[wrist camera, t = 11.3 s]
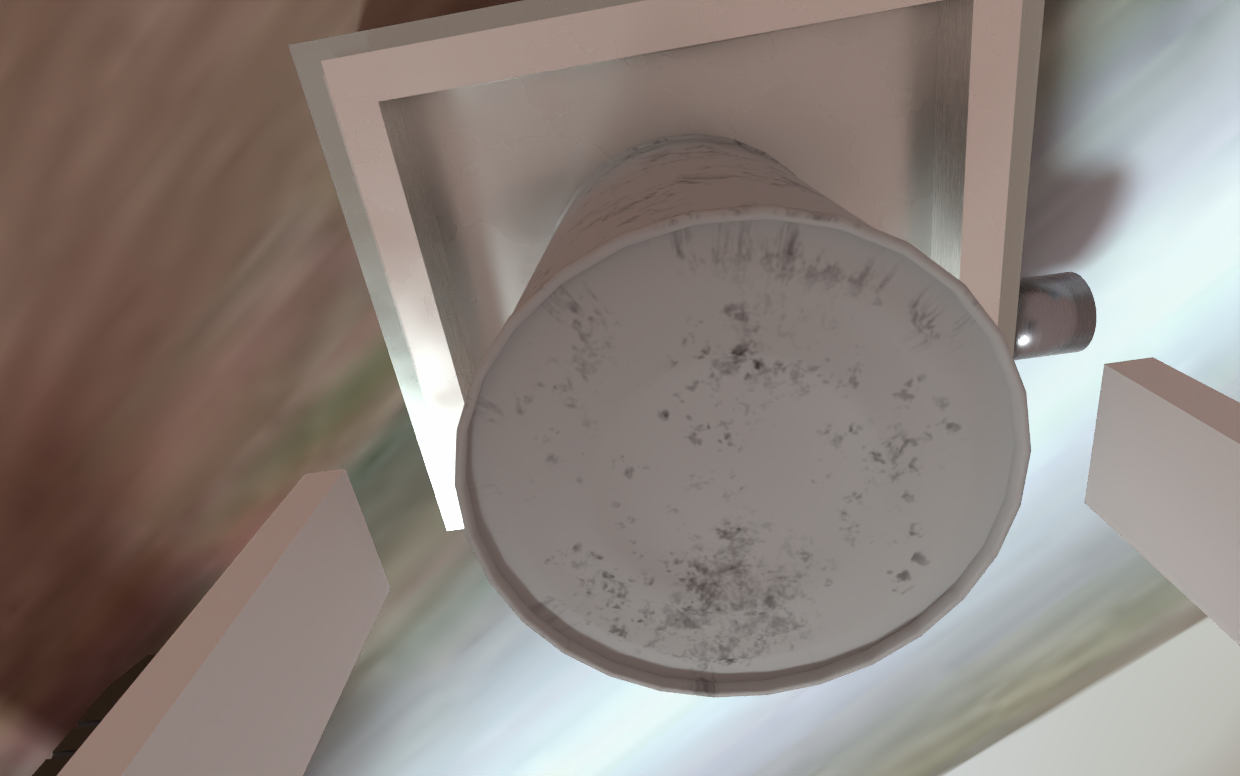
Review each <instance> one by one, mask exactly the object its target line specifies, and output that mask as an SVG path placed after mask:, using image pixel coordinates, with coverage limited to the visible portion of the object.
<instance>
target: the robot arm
mask: <svg viewBox="0 0 1240 776" xmlns="http://www.w3.org/2000/svg"><path fill="white" fill-rule="evenodd" d="M1085 504H1087V505H1088V506H1089V507H1090V508H1091V509H1092V510H1093V511H1094V512H1095V513H1096V514H1097V515H1099V516H1100V517H1101V518H1102V519H1103V520H1104V521H1105V522H1106V523H1107V524H1108V525H1109V526H1110V527H1112V528H1113V529H1114V530H1115V531H1116V532H1117V533H1118V534H1119V535H1120V536H1121V537H1122V538H1124V539H1125V540H1126V541H1127V542H1128V543H1129V544H1130V545H1131V546H1132V547H1133V548H1134V549H1135V550H1137V551H1138V552H1139V553H1140V554H1141V555H1142V556H1143V557H1144V558H1145V559H1146V560H1147V561H1149V562H1150V563H1151V564H1152V565H1153V566H1154V567H1155V568H1156V569H1157V570H1158V571H1159V572H1160V573H1162V574H1163V575H1164V576H1165V577H1166V578H1167V579H1168V580H1169V581H1170V582H1171V583H1172V584H1174V585H1175V586H1176V587H1177V588H1178V589H1179V590H1180V591H1181V592H1182V593H1183V594H1184V595H1185V596H1187V597H1188V598H1189V599H1190V600H1191V601H1192V602H1193V603H1194V604H1195V605H1196V606H1197V607H1199V608H1200V609H1201V610H1202V611H1203V612H1204V613H1205V614H1206V615H1207V616H1208V617H1209V618H1211V619H1212V620H1213V621H1214V622H1215V623H1216V624H1217V625H1218V626H1219V627H1220V628H1221V629H1222V630H1224V631H1225V632H1226V633H1227V634H1228V635H1229V636H1230V637H1231V638H1233V640H1234V641H1236V642H1237V643H1238V644H1239V645H1240V403H1239V402H1237V401H1235V400H1233V399H1231V398H1229V397H1227V396H1226V395H1224V394H1222V393H1220V392H1218V391H1216V390H1214V389H1212V388H1210V387H1208V386H1206V385H1205V384H1203V383H1201V382H1199V381H1197V380H1195V379H1193V378H1191V377H1189V376H1187V375H1185V374H1184V373H1182V372H1180V371H1178V370H1176V369H1174V368H1172V367H1170V366H1168V365H1166V364H1164V363H1163V362H1161V361H1159V360H1157V359H1155V358H1153V357H1152V358H1145V359H1138V360H1130V361H1123V362H1116V363H1109V364H1104V370H1103V377H1102V384H1101V391H1100V398H1099V405H1098V412H1097V419H1096V426H1095V433H1094V440H1093V447H1092V454H1091V461H1090V468H1089V475H1088V482H1087V489H1086V496H1085ZM390 589H391V588H390V585H389V583H388V580H387V578H386V575H385V572H384V570H383V567H382V564H381V562H380V559H379V556H378V554H377V551H376V549H375V546H374V543H373V541H372V538H371V535H370V533H369V530H368V527H367V525H366V522H365V520H364V517H363V514H362V512H361V509H360V506H359V504H358V501H357V498H356V496H355V493H354V491H353V488H352V485H351V483H350V480H349V477H348V475H347V472H346V469H340V470H332V471H325V472H318V473H311V474H305V475H304V476H303V477H302V478H301V479H300V481H299V482H298V483H297V484H296V485H295V487H294V488H293V489H292V490H291V492H290V493H289V494H288V495H287V496H286V498H285V499H284V500H283V501H282V502H281V504H280V505H279V506H278V507H277V509H276V510H275V511H274V512H273V513H272V515H271V516H270V517H269V518H268V519H267V521H266V522H265V523H264V524H263V526H262V527H261V528H260V529H259V530H258V532H257V533H256V534H255V535H254V536H253V538H252V539H251V540H250V541H249V543H248V544H247V545H246V546H245V547H244V549H243V550H242V551H241V552H240V553H239V555H238V556H237V557H236V558H235V560H234V561H233V562H232V563H231V564H230V566H229V567H228V568H227V569H226V570H225V572H224V573H223V574H222V575H221V577H220V578H219V579H218V580H217V581H216V583H215V584H214V585H213V586H212V587H211V589H210V590H209V591H208V592H207V594H206V595H205V596H204V597H203V598H202V600H201V601H200V602H199V603H198V604H197V606H196V607H195V608H194V609H193V611H192V612H191V613H190V614H189V615H188V617H187V618H186V619H185V620H184V621H183V623H182V624H181V625H180V626H179V628H178V629H177V630H176V631H175V632H174V634H173V635H172V636H171V637H170V638H169V640H168V641H167V642H166V643H165V645H164V646H163V647H162V648H161V649H160V651H159V652H158V653H157V654H156V655H148V656H146V657H145V658H144V659H143V660H141V661H140V662H139V663H138V664H136V665H135V666H134V667H133V668H131V669H130V670H129V671H128V672H126V673H125V674H124V675H123V676H121V677H120V678H119V679H118V680H116V681H115V682H114V683H113V684H111V685H110V686H109V687H108V688H107V689H106V690H105V691H104V693H103V694H102V695H101V696H100V697H99V698H98V700H97V701H96V702H95V703H94V704H93V705H92V707H91V708H90V709H89V710H88V711H87V712H86V714H85V715H84V716H83V717H82V718H81V719H80V721H79V722H78V723H79V726H78V728H77V729H72V730H71V731H70V732H69V733H68V735H67V736H66V737H65V738H64V739H63V740H62V742H61V743H60V744H59V745H58V746H57V747H56V749H55V750H54V751H53V757H52V759H47V760H45V761H44V763H43V764H42V765H41V766H40V767H39V768H38V770H37V771H36V772H35V773H34V774H33V775H32V776H303V775H304V772H305V770H306V768H307V766H308V764H309V762H310V760H311V757H312V755H313V753H314V751H315V749H316V747H317V745H318V742H319V740H320V738H321V736H322V734H323V732H324V730H325V728H326V725H327V723H328V721H329V719H330V717H331V715H332V713H333V710H334V708H335V706H336V704H337V702H338V700H339V698H340V695H341V693H342V691H343V689H344V687H345V685H346V683H347V681H348V678H349V676H350V674H351V672H352V670H353V668H354V666H355V663H356V661H357V659H358V657H359V655H360V653H361V651H362V648H363V646H364V644H365V642H366V640H367V638H368V636H369V633H370V631H371V629H372V627H373V625H374V623H375V621H376V619H377V616H378V614H379V612H380V610H381V608H382V606H383V604H384V601H385V599H386V597H387V595H388V593H389V591H390Z"/></svg>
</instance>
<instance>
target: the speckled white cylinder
mask: <svg viewBox="0 0 1240 776" xmlns="http://www.w3.org/2000/svg"><path fill="white" fill-rule="evenodd" d="M1030 453H1031V445H1030V433H1029V421H1028V409H1027V397H1026V390H1025V388H1024V385H1023V383H1022V380H1021V377H1020V375H1019V372H1018V370H1017V367H1016V364H1015V362H1014V359H1013V357H1012V354H1011V351H1010V349H1009V346H1008V344H1007V341H1006V339H1005V336H1004V334H1003V333H1002V332H1001V330H1000V329H999V328H998V326H997V325H996V324H995V323H994V321H993V320H992V319H991V317H990V316H989V315H988V313H987V312H986V311H985V310H984V308H983V307H982V306H981V304H980V303H979V302H978V300H977V299H976V298H975V297H974V295H973V294H972V293H971V291H970V290H969V289H968V287H967V286H966V285H965V284H964V283H962V282H961V281H960V280H958V279H957V278H956V277H954V276H953V275H952V274H950V273H949V272H948V271H946V270H945V269H944V268H942V267H941V266H940V265H938V264H937V263H936V262H934V261H933V260H932V259H930V258H929V257H928V256H926V255H925V254H924V253H922V252H921V251H920V250H918V249H917V248H916V247H914V246H913V245H912V244H910V243H908V242H907V241H904V240H902V239H899V238H897V237H894V236H892V235H889V234H887V233H884V232H882V231H880V230H877V229H875V228H873V227H871V226H870V225H868V224H867V223H865V222H864V221H862V220H861V219H859V218H858V217H856V216H855V215H853V214H852V213H850V212H849V211H847V210H846V209H844V208H843V207H841V206H840V205H838V204H837V203H835V202H834V201H832V200H831V199H829V198H828V197H826V196H825V195H823V194H822V193H820V192H819V191H817V190H816V189H814V188H813V187H811V186H810V185H808V184H806V183H805V182H803V181H802V180H800V179H799V178H797V177H796V175H795V174H794V173H793V172H792V171H790V170H789V169H787V168H786V167H785V166H783V165H782V164H781V163H779V162H778V161H777V160H775V159H774V158H773V157H771V156H770V155H769V154H767V153H766V152H764V151H761V150H759V149H756V148H754V147H751V146H749V145H747V144H744V143H742V142H739V141H737V140H734V139H729V138H723V137H716V136H709V135H702V134H692V135H681V136H671V137H662V138H659V139H656V140H653V141H650V142H647V143H644V144H641V145H639V146H636V147H633V148H630V149H628V150H626V151H625V152H623V153H622V154H620V155H618V156H617V157H615V158H614V159H612V160H610V161H609V162H607V163H606V164H604V165H602V166H601V167H599V168H598V169H597V170H596V171H595V172H594V173H593V174H592V175H591V176H590V177H589V178H588V179H587V180H586V181H585V182H584V183H583V184H582V185H581V186H580V187H579V188H578V189H577V190H576V191H575V193H574V195H573V196H572V198H571V199H570V201H569V203H568V204H567V206H566V208H565V209H564V211H563V212H562V214H561V216H560V217H559V219H558V221H557V223H556V226H555V229H554V232H553V235H552V238H551V240H550V242H549V244H548V246H547V248H546V250H545V252H544V254H543V256H542V258H541V260H540V261H539V263H538V265H537V267H536V269H535V271H534V273H533V275H532V277H531V279H530V281H529V283H528V284H527V286H526V288H525V290H524V292H523V294H522V296H521V298H520V300H519V302H518V304H517V305H516V307H515V309H514V311H513V313H512V314H511V315H510V316H509V318H508V319H507V321H506V322H505V324H504V326H503V327H502V329H501V330H500V332H499V334H498V335H497V337H496V338H495V340H494V342H493V343H492V345H491V346H490V348H489V350H488V351H487V353H486V355H485V356H484V358H483V359H482V361H481V363H480V364H479V366H478V367H477V369H476V371H475V372H474V375H473V378H472V381H471V384H470V387H469V391H468V394H467V397H466V400H465V404H464V407H463V410H462V413H461V417H460V420H459V423H458V426H457V429H456V453H455V480H454V485H455V490H456V494H457V498H458V503H459V507H460V512H461V516H462V520H463V525H464V529H465V534H466V538H467V540H468V542H469V544H470V546H471V547H472V549H473V551H474V553H475V555H476V557H477V559H478V561H479V563H480V565H481V567H482V569H483V571H484V573H485V575H486V577H487V579H488V581H489V583H490V584H491V585H492V586H493V588H494V589H495V590H496V591H497V592H498V593H499V595H500V596H501V597H502V598H503V599H504V601H505V602H506V603H507V604H508V605H509V606H510V608H511V609H512V610H513V611H514V612H515V613H516V615H517V616H518V617H519V618H520V619H521V621H522V622H523V623H525V624H526V625H527V626H529V627H530V628H531V629H533V630H534V631H535V632H536V633H538V634H539V635H540V636H542V637H543V638H544V639H546V640H547V641H548V642H550V643H551V644H552V645H553V646H555V647H556V648H557V649H559V650H560V651H561V652H563V653H564V654H566V655H568V656H570V657H572V658H574V659H576V660H578V661H580V662H582V663H584V664H586V665H588V666H590V667H592V668H594V669H596V670H598V671H600V672H602V673H604V674H606V675H608V676H611V677H614V678H618V679H621V680H624V681H628V682H631V683H635V684H638V685H642V686H645V687H648V688H652V689H655V690H659V691H665V692H673V693H682V694H690V695H699V696H707V697H730V696H754V695H769V694H774V693H779V692H784V691H789V690H794V689H799V688H804V687H809V686H814V685H818V684H822V683H825V682H828V681H830V680H833V679H836V678H838V677H841V676H843V675H846V674H849V673H851V672H854V671H857V670H859V669H862V668H865V667H867V666H870V665H872V664H874V663H876V662H878V661H879V660H881V659H883V658H885V657H886V656H888V655H890V654H891V653H893V652H895V651H896V650H898V649H900V648H902V647H903V646H905V645H907V644H908V643H910V642H912V641H913V640H915V639H917V638H919V637H920V636H922V635H923V634H924V633H925V632H926V631H927V630H929V629H930V628H931V627H932V626H933V625H934V624H936V623H937V622H938V621H939V620H940V619H941V618H942V617H944V616H945V615H946V614H947V613H948V612H949V611H951V610H952V609H953V608H954V607H955V606H956V605H957V604H959V603H960V602H961V601H962V600H963V599H964V598H965V597H966V595H967V594H968V593H969V591H970V590H971V589H972V587H973V586H974V585H975V584H976V582H977V581H978V580H979V578H980V577H981V576H982V575H983V573H984V572H985V571H986V569H987V568H988V567H989V565H990V564H991V563H992V562H993V560H994V559H995V558H996V556H997V555H998V553H999V550H1000V548H1001V546H1002V544H1003V542H1004V540H1005V538H1006V535H1007V533H1008V531H1009V529H1010V527H1011V525H1012V523H1013V520H1014V518H1015V516H1016V514H1017V512H1018V510H1019V508H1020V505H1021V500H1022V495H1023V490H1024V484H1025V479H1026V474H1027V469H1028V463H1029V458H1030Z"/></svg>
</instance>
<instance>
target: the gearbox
mask: <svg viewBox="0 0 1240 776" xmlns="http://www.w3.org/2000/svg"><path fill="white" fill-rule="evenodd" d="M1044 5H1045V0H522V1H517V2H512V3H507V4H501V5H496V6H491V7H486V8H480V9H475V10H470V11H464V12H459V13H454V14H449V15H443V16H438V17H433V18H428V19H422V20H417V21H412V22H407V23H401V24H396V25H391V26H386V27H380V28H375V29H370V30H365V31H359V32H354V33H349V34H343V35H338V36H333V37H328V38H322V39H317V40H312V41H307V42H301V43H296V44H291V45H288V46H289V49H290V52H291V55H292V58H293V61H294V64H295V67H296V70H297V73H298V76H299V79H300V82H301V85H302V89H303V92H304V95H305V98H306V101H307V104H308V107H309V110H310V113H311V116H312V119H313V122H314V125H315V128H316V131H317V134H318V137H319V141H320V144H321V147H322V150H323V153H324V156H325V159H326V162H327V165H328V168H329V171H330V174H331V177H332V180H333V183H334V186H335V189H336V192H337V196H338V199H339V202H340V205H341V208H342V211H343V214H344V217H345V220H346V223H347V226H348V229H349V232H350V235H351V238H352V241H353V244H354V248H355V251H356V254H357V257H358V260H359V263H360V266H361V269H362V272H363V275H364V278H365V281H366V284H367V287H368V290H369V293H370V296H371V299H372V303H373V306H374V309H375V312H376V315H377V318H378V321H379V324H380V327H381V330H382V333H383V336H384V339H385V342H386V345H387V348H388V351H389V355H390V358H391V361H392V364H393V367H394V370H395V373H396V376H397V379H398V382H399V385H400V388H401V391H402V394H403V397H404V400H405V403H406V406H407V410H408V413H409V416H410V419H411V422H412V425H413V428H414V431H415V434H416V437H417V440H418V443H419V446H420V449H421V452H422V455H423V458H424V462H425V465H426V468H427V471H428V474H429V477H430V480H431V483H432V486H433V489H434V492H435V495H436V498H437V501H438V504H439V507H440V510H441V513H442V517H443V520H444V523H445V526H446V529H447V530H455V529H463V528H464V525H463V520H462V516H461V512H460V507H459V503H458V498H457V494H456V490H455V485H454V480H455V453H456V429H457V426H458V423H459V420H460V417H461V413H462V410H463V407H464V404H465V400H466V397H467V394H468V391H469V387H470V384H471V381H472V378H473V375H474V372H475V371H476V369H477V367H478V366H479V364H480V363H481V361H482V359H483V358H484V356H485V355H486V353H487V351H488V350H489V348H490V346H491V345H492V343H493V342H494V340H495V338H496V337H497V335H498V334H499V332H500V330H501V329H502V327H503V326H504V324H505V322H506V321H507V319H508V318H509V316H510V315H511V314H512V313H513V311H514V309H515V307H516V305H517V304H518V302H519V300H520V298H521V296H522V294H523V292H524V290H525V288H526V286H527V284H528V283H529V281H530V279H531V277H532V275H533V273H534V271H535V269H536V267H537V265H538V263H539V261H540V260H541V258H542V256H543V254H544V252H545V250H546V248H547V246H548V244H549V242H550V240H551V238H552V235H553V232H554V229H555V226H556V223H557V221H558V219H559V217H560V216H561V214H562V212H563V211H564V209H565V208H566V206H567V204H568V203H569V201H570V199H571V198H572V196H573V195H574V193H575V191H576V190H577V189H578V188H579V187H580V186H581V185H582V184H583V183H584V182H585V181H586V180H587V179H588V178H589V177H590V176H591V175H592V174H593V173H594V172H595V171H596V170H597V169H598V168H599V167H601V166H602V165H604V164H606V163H607V162H609V161H610V160H612V159H614V158H615V157H617V156H618V155H620V154H622V153H623V152H625V151H626V150H628V149H630V148H633V147H636V146H639V145H641V144H644V143H647V142H650V141H653V140H656V139H659V138H662V137H671V136H681V135H692V134H702V135H709V136H716V137H723V138H729V139H734V140H737V141H739V142H742V143H744V144H747V145H749V146H751V147H754V148H756V149H759V150H761V151H764V152H766V153H767V154H769V155H770V156H771V157H773V158H774V159H775V160H777V161H778V162H779V163H781V164H782V165H783V166H785V167H786V168H787V169H789V170H790V171H792V172H793V173H794V174H795V175H796V177H797V178H799V179H800V180H802V181H803V182H805V183H806V184H808V185H810V186H811V187H813V188H814V189H816V190H817V191H819V192H820V193H822V194H823V195H825V196H826V197H828V198H829V199H831V200H832V201H834V202H835V203H837V204H838V205H840V206H841V207H843V208H844V209H846V210H847V211H849V212H850V213H852V214H853V215H855V216H856V217H858V218H859V219H861V220H862V221H864V222H865V223H867V224H868V225H870V226H871V227H873V228H875V229H877V230H880V231H882V232H884V233H887V234H889V235H892V236H894V237H897V238H899V239H902V240H904V241H907V242H908V243H910V244H912V245H913V246H914V247H916V248H917V249H918V250H920V251H921V252H922V253H924V254H925V255H926V256H928V257H929V258H930V259H932V260H933V261H934V262H936V263H937V264H938V265H940V266H941V267H942V268H944V269H945V270H946V271H948V272H949V273H950V274H952V275H953V276H954V277H956V278H957V279H958V280H960V281H961V282H962V283H964V284H965V285H966V286H967V287H968V289H969V290H970V291H971V293H972V294H973V295H974V297H975V298H976V299H977V300H978V302H979V303H980V304H981V306H982V307H983V308H984V310H985V311H986V312H987V313H988V315H989V316H990V317H991V319H992V320H993V321H994V323H995V324H996V325H997V326H998V328H999V329H1000V330H1001V332H1002V333H1003V334H1004V336H1005V339H1006V341H1007V344H1008V346H1009V349H1010V351H1011V354H1012V357H1013V359H1014V360H1019V359H1027V358H1035V357H1042V356H1050V355H1057V354H1065V353H1072V352H1079V351H1082V350H1083V349H1085V348H1086V347H1087V346H1088V345H1089V343H1090V342H1091V340H1092V338H1093V335H1094V332H1095V327H1096V307H1095V302H1094V298H1093V295H1092V292H1091V290H1090V288H1089V286H1088V284H1087V283H1086V281H1085V280H1084V279H1083V278H1082V277H1081V276H1080V275H1078V274H1076V273H1074V272H1064V273H1057V274H1050V275H1043V276H1036V277H1029V278H1022V279H1020V276H1021V264H1022V253H1023V242H1024V230H1025V219H1026V208H1027V197H1028V185H1029V174H1030V163H1031V152H1032V140H1033V129H1034V118H1035V106H1036V95H1037V84H1038V73H1039V61H1040V50H1041V39H1042V27H1043V16H1044Z"/></svg>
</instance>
